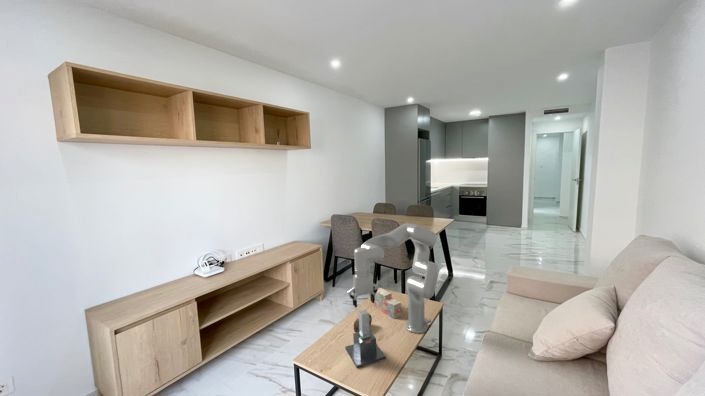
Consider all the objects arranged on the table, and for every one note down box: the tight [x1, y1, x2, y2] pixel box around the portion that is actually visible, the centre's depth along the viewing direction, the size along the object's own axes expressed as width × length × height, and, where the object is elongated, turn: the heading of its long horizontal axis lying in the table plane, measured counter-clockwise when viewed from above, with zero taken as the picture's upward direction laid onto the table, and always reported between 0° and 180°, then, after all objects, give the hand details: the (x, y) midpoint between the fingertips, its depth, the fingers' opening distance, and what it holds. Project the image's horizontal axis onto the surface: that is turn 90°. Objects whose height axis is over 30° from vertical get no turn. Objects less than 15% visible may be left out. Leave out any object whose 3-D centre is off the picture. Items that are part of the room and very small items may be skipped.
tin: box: [353, 313, 373, 333], centre depth 171 cm, size 15×3×8 cm, turn 140°
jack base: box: [345, 329, 387, 369], centre depth 149 cm, size 16×16×10 cm
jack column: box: [358, 309, 371, 340], centre depth 148 cm, size 4×4×16 cm
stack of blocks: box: [373, 287, 402, 319], centre depth 192 cm, size 21×6×12 cm, turn 34°
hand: (364, 304), depth 146 cm, fingers open, 9 cm apart
